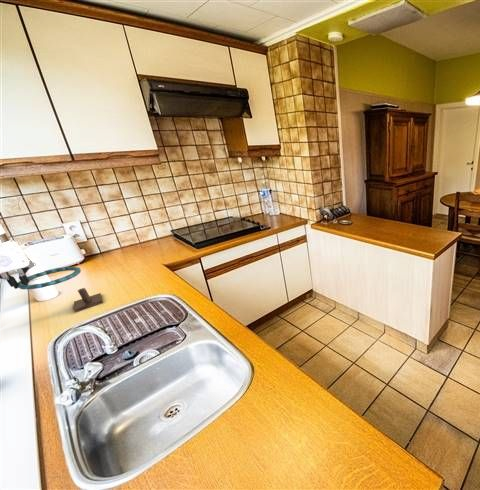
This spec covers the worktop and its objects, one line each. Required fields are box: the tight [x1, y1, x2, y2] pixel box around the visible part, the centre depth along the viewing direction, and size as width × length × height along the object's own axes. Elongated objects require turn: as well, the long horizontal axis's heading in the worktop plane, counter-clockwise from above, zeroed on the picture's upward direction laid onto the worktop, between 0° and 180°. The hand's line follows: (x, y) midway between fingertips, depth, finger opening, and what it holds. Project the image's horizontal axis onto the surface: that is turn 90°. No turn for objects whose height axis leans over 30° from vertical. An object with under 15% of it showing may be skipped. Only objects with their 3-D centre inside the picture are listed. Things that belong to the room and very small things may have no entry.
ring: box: [17, 266, 82, 290], centre depth 104 cm, size 17×17×2 cm
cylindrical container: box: [21, 246, 59, 302], centre depth 123 cm, size 7×7×25 cm
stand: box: [73, 287, 104, 313], centre depth 119 cm, size 9×9×8 cm
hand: (21, 285), depth 99 cm, fingers closed on ring, 1 cm apart
